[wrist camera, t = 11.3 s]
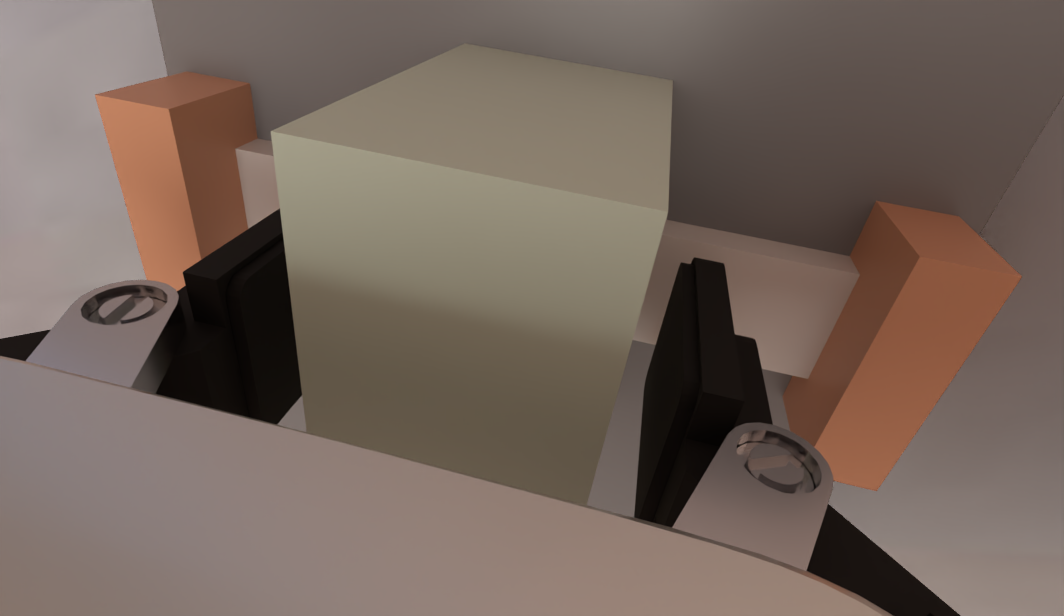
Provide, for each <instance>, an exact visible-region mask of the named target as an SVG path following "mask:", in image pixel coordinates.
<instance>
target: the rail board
mask: <svg viewBox="0 0 1064 616" xmlns="http://www.w3.org/2000/svg"><path fill="white" fill-rule="evenodd" d="M152 3H153V7H154V12H155V17H156V22H157V26H158V31H159V36H160V41H161V45H162V50H163V55H164V60H165V64H166V69H167V74H168V76H167V77H163V78H159V79H155V80H151V81H147V82H143V83H139V84H135V85H131V86H127V87H123V88H119V89H115V90H112V91H108V92H104V93H100V94H96V95H95V97H96V100H97V104H98V107H99V111H100V114H101V118H102V121H103V125H104V129H105V132H106V136H107V139H108V143H109V146H110V150H111V153H112V157H113V161H114V164H115V168H116V171H117V175H118V178H119V182H120V185H121V189H122V193H123V196H124V200H125V203H126V207H127V210H128V214H129V217H130V221H131V225H132V228H133V232H134V235H135V239H136V242H137V246H138V249H139V253H140V257H141V260H142V264H143V267H144V271H145V274H146V278H147V280H151V281H158V282H162V283H165V284H168V285H170V286H171V287H173V288H174V289H176V291H178V290H180V289H181V288H183V287H184V286H186V285H185V281H184V276H183V271H185V270H186V269H188V268H189V267H191V266H192V265H194V264H195V263H197V262H199V261H200V260H202V259H203V258H205V257H206V256H208V255H209V254H211V253H212V252H214V251H215V250H217V249H218V248H220V247H221V246H223V245H224V244H226V243H227V242H229V241H231V240H232V239H234V238H235V237H237V236H238V235H240V234H241V233H243V232H244V231H246V230H247V229H249V228H250V227H252V226H253V225H255V224H256V223H258V222H260V221H261V220H263V219H264V218H266V217H267V216H269V215H270V214H272V213H273V212H275V211H276V210H278V209H279V208H280V205H279V197H278V189H277V180H276V172H275V164H274V155H273V147H272V139H271V131H272V130H275V129H277V128H279V127H281V126H283V125H286V124H288V123H290V122H292V121H294V120H297V119H299V118H301V117H303V116H305V115H308V114H310V113H312V112H314V111H317V110H319V109H321V108H323V107H325V106H328V105H330V104H332V103H334V102H336V101H339V100H341V99H343V98H345V97H348V96H350V95H352V94H354V93H356V92H359V91H361V90H363V89H365V88H367V87H370V86H372V85H374V84H376V83H379V82H381V81H383V80H385V79H387V78H390V77H392V76H394V75H396V74H398V73H401V72H403V71H405V70H407V69H410V68H412V67H414V66H416V65H418V64H421V63H423V62H425V61H427V60H429V59H432V58H434V57H436V56H438V55H441V54H443V53H445V52H447V51H449V50H452V49H454V48H456V47H458V46H460V45H463V44H465V43H466V44H471V45H477V46H483V47H488V48H494V49H499V50H505V51H511V52H516V53H522V54H527V55H533V56H539V57H544V58H550V59H555V60H561V61H567V62H572V63H578V64H584V65H589V66H595V67H600V68H606V69H612V70H617V71H623V72H628V73H634V74H640V75H645V76H651V77H656V78H662V79H668V80H673V90H672V118H671V146H670V174H669V202H668V214H667V218H666V221H665V225H664V229H663V232H662V236H661V239H660V243H659V247H658V250H657V254H656V257H655V261H654V265H653V268H652V272H651V275H650V279H649V283H648V286H647V290H646V293H645V297H644V301H643V304H642V308H641V311H640V315H639V319H638V322H637V326H636V329H635V333H634V336H633V340H632V344H631V347H630V351H629V354H628V358H627V362H626V365H625V369H624V372H623V376H622V380H621V383H620V387H619V390H618V394H617V398H616V401H615V405H614V408H613V412H612V416H611V419H610V423H609V426H608V430H607V434H606V437H605V441H604V444H603V448H602V451H601V455H600V459H599V462H598V466H597V469H596V473H595V477H594V480H593V484H592V487H591V491H590V495H589V498H588V502H587V505H588V506H592V507H595V508H599V509H603V510H607V511H611V512H614V513H618V514H622V515H626V516H630V517H633V518H634V512H635V499H636V486H637V473H638V460H639V447H640V434H641V421H642V408H643V395H644V386H645V380H646V376H647V372H648V368H649V365H650V362H651V358H652V355H653V352H654V348H655V345H656V342H657V338H658V335H659V332H660V328H661V325H662V322H663V318H664V315H665V312H666V308H667V305H668V302H669V298H670V295H671V292H672V288H673V285H674V282H675V278H676V275H677V272H678V268H679V266H680V263H681V262H682V263H687V264H691V262H692V260H693V258H694V257H696V258H701V259H706V260H711V261H716V262H720V263H724V265H725V271H726V278H727V285H728V291H729V298H730V305H731V312H732V319H733V325H734V332H735V334H736V335H741V336H745V337H750V338H753V339H755V341H756V343H757V347H758V352H759V357H760V362H761V367H762V372H763V377H764V382H765V387H766V392H767V397H768V402H769V407H770V412H771V417H772V422H773V425H776V426H779V427H781V428H784V429H786V430H789V431H791V432H793V433H795V434H796V435H798V436H800V437H801V438H803V439H805V440H806V441H808V442H809V443H810V444H811V445H812V446H813V447H814V448H816V449H817V450H818V451H819V452H820V453H821V455H822V456H823V457H824V459H825V460H826V461H827V463H828V464H829V466H830V469H831V472H832V474H833V481H837V482H841V483H845V484H849V485H853V486H857V487H861V488H866V489H870V490H874V491H877V490H878V488H879V487H880V485H881V484H882V482H883V481H884V480H885V478H886V477H887V475H888V474H889V472H890V471H891V469H892V468H893V466H894V465H895V463H896V462H897V460H898V459H899V457H900V456H901V455H902V453H903V452H904V450H905V449H906V447H907V446H908V444H909V443H910V441H911V440H912V438H913V437H914V435H915V434H916V432H917V431H918V429H919V428H920V427H921V425H922V424H923V422H924V421H925V419H926V418H927V416H928V415H929V413H930V412H931V410H932V409H933V407H934V406H935V404H936V403H937V401H938V400H939V399H940V397H941V396H942V394H943V393H944V391H945V390H946V388H947V387H948V385H949V384H950V382H951V381H952V379H953V378H954V376H955V375H956V373H957V372H958V371H959V369H960V368H961V366H962V365H963V363H964V362H965V360H966V359H967V357H968V356H969V354H970V353H971V351H972V350H973V348H974V347H975V346H976V344H977V343H978V341H979V340H980V338H981V337H982V335H983V334H984V332H985V331H986V329H987V328H988V326H989V325H990V323H991V322H992V320H993V319H994V318H995V316H996V315H997V313H998V312H999V310H1000V309H1001V307H1002V306H1003V304H1004V303H1005V301H1006V300H1007V298H1008V297H1009V295H1010V294H1011V292H1012V291H1013V290H1014V288H1015V287H1016V285H1017V284H1018V282H1019V281H1020V279H1021V278H1022V276H1021V275H1020V274H1019V273H1018V272H1017V271H1016V270H1015V269H1014V268H1012V267H1011V266H1010V265H1009V264H1008V263H1007V262H1006V261H1005V260H1004V259H1003V258H1002V257H1001V256H1000V255H999V254H998V253H997V252H996V251H995V250H994V249H993V248H992V247H991V246H989V245H988V244H987V243H986V242H985V241H984V240H983V239H982V238H981V237H980V236H979V234H980V233H981V231H982V229H983V228H984V226H985V225H986V223H987V221H988V220H989V218H990V216H991V215H992V213H993V211H994V210H995V208H996V206H997V205H998V203H999V201H1000V200H1001V198H1002V196H1003V195H1004V193H1005V191H1006V190H1007V188H1008V186H1009V185H1010V183H1011V181H1012V180H1013V178H1014V177H1015V175H1016V173H1017V172H1018V170H1019V168H1020V167H1021V165H1022V163H1023V162H1024V160H1025V158H1026V157H1027V155H1028V153H1029V152H1030V150H1031V148H1032V147H1033V145H1034V143H1035V142H1036V140H1037V138H1038V137H1039V135H1040V133H1041V132H1042V130H1043V129H1044V127H1045V125H1046V124H1047V122H1048V120H1049V119H1050V117H1051V115H1052V114H1053V112H1054V110H1055V109H1056V107H1057V105H1058V104H1059V102H1060V100H1061V99H1062V97H1063V95H1064V0H152ZM277 425H280V426H284V427H288V428H292V429H296V430H300V431H304V432H307V431H306V422H305V414H304V406H303V397H302V396H301V397H300V398H299V399H298V400H297V402H296V403H295V404H294V405H293V406H292V408H291V409H290V410H289V411H288V412H287V414H286V415H285V416H284V417H283V418H282V420H281V421H280V422H279V423H278V424H277Z"/></svg>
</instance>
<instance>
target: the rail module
mask: <svg viewBox="0 0 1064 616" xmlns="http://www.w3.org/2000/svg"><path fill="white" fill-rule="evenodd" d="M672 90H673V80H668V79H662V78H656V77H651V76H645V75H640V74H634V73H628V72H623V71H617V70H612V69H606V68H600V67H595V66H589V65H584V64H578V63H572V62H567V61H561V60H555V59H550V58H544V57H539V56H533V55H527V54H522V53H516V52H511V51H505V50H499V49H494V48H488V47H483V46H477V45H471V44H466V43H465V44H463V45H460V46H458V47H456V48H454V49H452V50H449V51H447V52H445V53H443V54H441V55H438V56H436V57H434V58H432V59H429V60H427V61H425V62H423V63H421V64H418V65H416V66H414V67H412V68H410V69H407V70H405V71H403V72H401V73H398V74H396V75H394V76H392V77H390V78H387V79H385V80H383V81H381V82H379V83H376V84H374V85H372V86H370V87H367V88H365V89H363V90H361V91H359V92H356V93H354V94H352V95H350V96H348V97H345V98H343V99H341V100H339V101H336V102H334V103H332V104H330V105H328V106H325V107H323V108H321V109H319V110H317V111H314V112H312V113H310V114H308V115H305V116H303V117H301V118H299V119H297V120H294V121H292V122H290V123H288V124H286V125H283V126H281V127H279V128H277V129H275V130H272V131H271V139H272V147H273V155H274V164H275V172H276V180H277V189H278V197H279V205H280V214H281V222H282V230H283V239H284V247H285V255H286V264H287V272H288V280H289V289H290V297H291V306H292V314H293V322H294V331H295V339H296V347H297V356H298V364H299V372H300V381H301V389H302V397H303V406H304V414H305V422H306V431H307V432H308V433H312V434H316V435H319V436H323V437H327V438H331V439H335V440H339V441H343V442H347V443H351V444H354V445H358V446H362V447H366V448H370V449H374V450H378V451H382V452H385V453H389V454H393V455H397V456H401V457H405V458H409V459H413V460H416V461H420V462H424V463H428V464H432V465H436V466H440V467H443V468H447V469H451V470H455V471H459V472H462V473H466V474H470V475H474V476H478V477H481V478H485V479H489V480H493V481H497V482H500V483H504V484H508V485H512V486H516V487H519V488H523V489H527V490H531V491H535V492H538V493H542V494H546V495H550V496H554V497H557V498H561V499H565V500H569V501H573V502H576V503H580V504H584V505H587V502H588V498H589V495H590V491H591V487H592V484H593V480H594V477H595V473H596V469H597V466H598V462H599V459H600V455H601V451H602V448H603V444H604V441H605V437H606V434H607V430H608V426H609V423H610V419H611V416H612V412H613V408H614V405H615V401H616V398H617V394H618V390H619V387H620V383H621V380H622V376H623V372H624V369H625V365H626V362H627V358H628V354H629V351H630V347H631V344H632V340H633V336H634V333H635V329H636V326H637V322H638V319H639V315H640V311H641V308H642V304H643V301H644V297H645V293H646V290H647V286H648V283H649V279H650V275H651V272H652V268H653V265H654V261H655V257H656V254H657V250H658V247H659V243H660V239H661V236H662V232H663V229H664V225H665V221H666V218H667V214H668V202H669V174H670V146H671V118H672Z"/></svg>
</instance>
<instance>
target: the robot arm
mask: <svg viewBox="0 0 1064 616" xmlns="http://www.w3.org/2000/svg"><path fill="white" fill-rule="evenodd" d="M183 276H184V281H185V285H186V286H184V287H183V288H181V289H180V290H178V291H176V289H174V288H173V287H171V286H170V285H168V284H165V283H162V282H158V281H151V280H130V281H122V282H117V283H112V284H108V285H105V286H102V287H99V288H96V289H94V290H92V291H90V292H88V293H86V294H84V295H82V296H81V297H80V298H78V299H77V300H76V301H75V302H74V303H73V304H72V305H71V306H70V307H69V308H68V310H67V311H66V312H65V313H64V315H63V316H62V317H61V318H60V319H59V321H58V322H57V323H56V324H55V326H54V327H53V328H52V329H51V330H46V331H41V332H35V333H30V334H24V335H19V336H14V337H8V338H3V339H0V616H960V615H959V614H958V613H957V612H955V611H954V610H953V609H952V608H951V607H949V606H948V605H947V604H946V603H945V602H944V601H942V600H941V599H940V598H939V597H938V596H936V595H935V594H934V593H933V592H932V591H931V590H929V589H928V588H927V587H926V586H925V585H923V584H922V583H921V582H920V581H919V580H918V579H916V578H915V577H914V576H913V575H912V574H910V573H909V572H908V571H907V570H906V569H904V568H903V567H902V566H901V565H900V564H899V563H897V562H896V561H895V560H894V559H893V558H891V557H890V556H889V555H888V554H887V553H886V552H884V551H883V550H882V549H881V548H880V547H878V546H877V545H876V544H875V543H874V542H873V541H871V540H870V539H869V538H868V537H867V536H865V535H864V534H863V533H862V532H861V531H860V530H858V529H857V528H856V527H855V526H854V525H852V524H851V523H850V522H849V521H848V520H846V519H845V518H844V517H843V516H842V515H841V514H839V513H838V512H837V511H836V510H835V509H833V508H832V507H831V506H830V505H829V504H828V502H829V499H830V496H831V493H832V490H833V474H832V472H831V469H830V466H829V464H828V463H827V461H826V460H825V459H824V457H823V456H822V455H821V453H820V452H819V451H818V450H817V449H816V448H814V447H813V446H812V445H811V444H810V443H809V442H808V441H806V440H805V439H803V438H801V437H800V436H798V435H796V434H795V433H793V432H791V431H789V430H786V429H784V428H781V427H779V426H776V425H773V422H772V417H771V412H770V407H769V402H768V397H767V392H766V387H765V382H764V377H763V372H762V367H761V362H760V357H759V352H758V347H757V343H756V341H755V339H753V338H750V337H745V336H741V335H736V334H735V332H734V325H733V319H732V312H731V305H730V298H729V291H728V285H727V278H726V271H725V265H724V263H720V262H716V261H711V260H706V259H701V258H696V257H694V258H693V260H692V262H691V264H687V263H682V262H681V263H680V266H679V268H678V272H677V275H676V278H675V282H674V285H673V288H672V292H671V295H670V298H669V302H668V305H667V308H666V312H665V315H664V318H663V322H662V325H661V328H660V332H659V335H658V338H657V342H656V345H655V348H654V352H653V355H652V358H651V362H650V365H649V368H648V372H647V376H646V380H645V386H644V395H643V408H642V421H641V434H640V447H639V460H638V473H637V486H636V499H635V512H634V518H633V517H630V516H626V515H622V514H618V513H614V512H611V511H607V510H603V509H599V508H595V507H592V506H588V505H584V504H580V503H576V502H573V501H569V500H565V499H561V498H557V497H554V496H550V495H546V494H542V493H538V492H535V491H531V490H527V489H523V488H519V487H516V486H512V485H508V484H504V483H500V482H497V481H493V480H489V479H485V478H481V477H478V476H474V475H470V474H466V473H462V472H459V471H455V470H451V469H447V468H443V467H440V466H436V465H432V464H428V463H424V462H420V461H416V460H413V459H409V458H405V457H401V456H397V455H393V454H389V453H385V452H382V451H378V450H374V449H370V448H366V447H362V446H358V445H354V444H351V443H347V442H343V441H339V440H335V439H331V438H327V437H323V436H319V435H316V434H312V433H308V432H304V431H300V430H296V429H292V428H288V427H284V426H280V425H277V424H278V423H279V422H280V421H281V420H282V418H283V417H284V416H285V415H286V414H287V412H288V411H289V410H290V409H291V408H292V406H293V405H294V404H295V403H296V402H297V400H298V399H299V398H300V397H301V396H302V389H301V381H300V372H299V364H298V356H297V347H296V339H295V331H294V322H293V314H292V306H291V297H290V289H289V280H288V272H287V264H286V255H285V247H284V239H283V230H282V222H281V214H280V208H279V209H278V210H276V211H275V212H273V213H272V214H270V215H269V216H267V217H266V218H264V219H263V220H261V221H260V222H258V223H256V224H255V225H253V226H252V227H250V228H249V229H247V230H246V231H244V232H243V233H241V234H240V235H238V236H237V237H235V238H234V239H232V240H231V241H229V242H227V243H226V244H224V245H223V246H221V247H220V248H218V249H217V250H215V251H214V252H212V253H211V254H209V255H208V256H206V257H205V258H203V259H202V260H200V261H199V262H197V263H195V264H194V265H192V266H191V267H189V268H188V269H186V270H185V271H183Z"/></svg>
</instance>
